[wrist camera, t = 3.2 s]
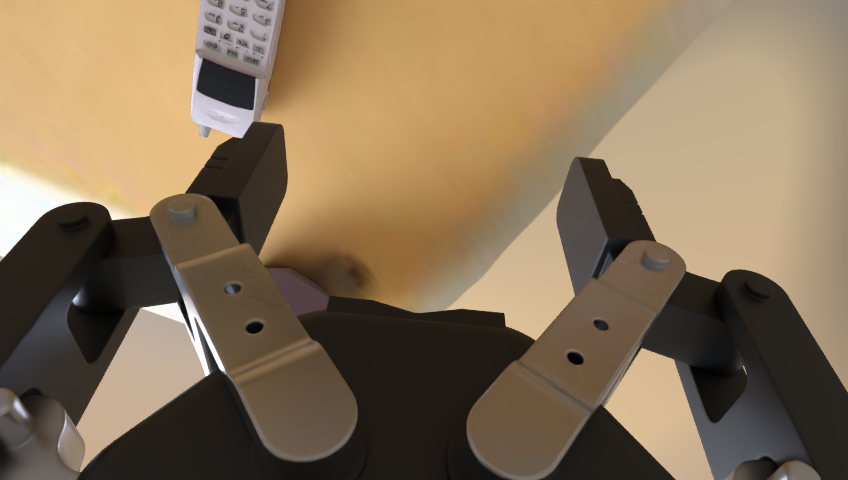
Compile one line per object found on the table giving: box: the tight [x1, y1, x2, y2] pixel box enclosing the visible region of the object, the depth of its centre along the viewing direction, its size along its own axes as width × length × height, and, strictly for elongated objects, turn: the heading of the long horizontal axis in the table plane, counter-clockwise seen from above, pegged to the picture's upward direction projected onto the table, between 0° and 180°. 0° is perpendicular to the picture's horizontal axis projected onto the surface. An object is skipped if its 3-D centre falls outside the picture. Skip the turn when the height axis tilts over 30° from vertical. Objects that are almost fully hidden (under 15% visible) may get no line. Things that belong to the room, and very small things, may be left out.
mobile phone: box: [191, 0, 286, 138], centre depth 38 cm, size 6×6×25 cm
